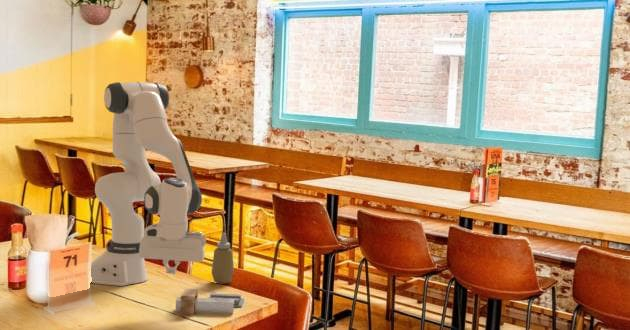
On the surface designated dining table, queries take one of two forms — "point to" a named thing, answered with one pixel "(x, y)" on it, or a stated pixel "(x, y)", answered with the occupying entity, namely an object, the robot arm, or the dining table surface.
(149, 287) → the dining table surface
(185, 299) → the brown block
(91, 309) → the dining table surface
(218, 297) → the cradle
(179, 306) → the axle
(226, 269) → the squeeze bottle
